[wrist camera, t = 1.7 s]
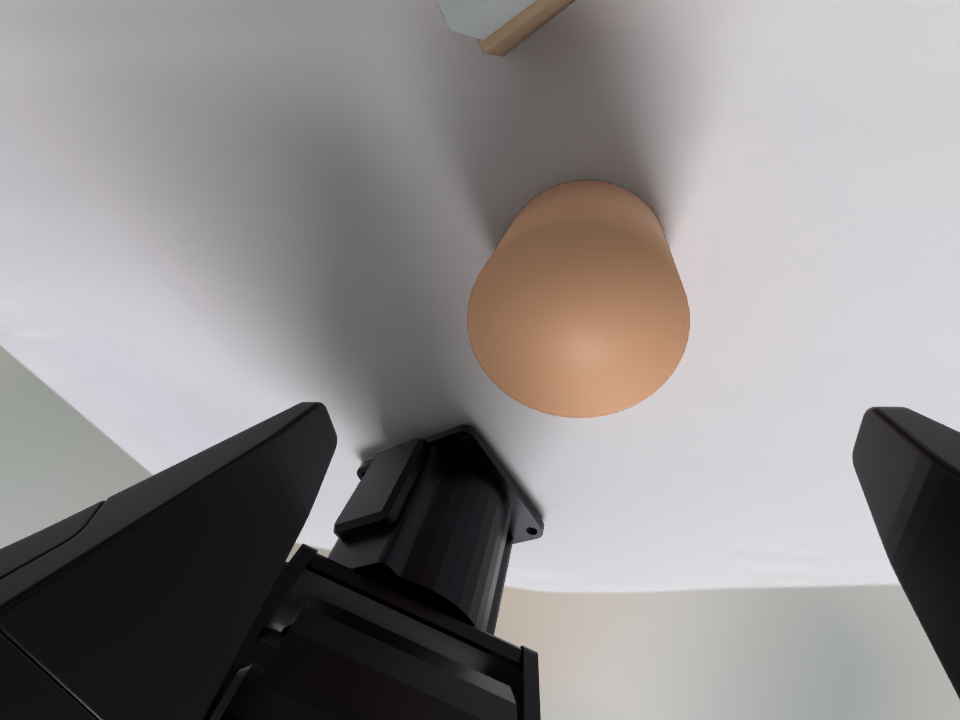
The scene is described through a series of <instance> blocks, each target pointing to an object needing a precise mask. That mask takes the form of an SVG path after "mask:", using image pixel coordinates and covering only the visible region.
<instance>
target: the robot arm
mask: <svg viewBox="0 0 960 720" xmlns="http://www.w3.org/2000/svg"><path fill="white" fill-rule="evenodd" d="M462 436H465V437H468V438H469V439H464V438H463V437H462ZM336 445H337V435H336V432H335V429H334V427H333V424H332V422H331V419H330V416H329V414H328V411H327V409H326V407H325V406H324V404H322V403H320V402H302V403H299V404H297V405H295V406H293V407H291V408H289V409H287V410H285V411H283V412H281V413H279V414H277V415H275V416H273V417H271V418H269V419H267V420H265V421H263V422H261V423H259V424H257V425H255V426H253V427H251V428H249V429H247V430H245V431H243V432H241V433H239V434H236V435H234V436H232V437H230V438H228V439H226V440H224V441H222V442H220V443H218V444H216V445H214V446H212V447H210V448H208V449H206V450H204V451H202V452H200V453H198V454H196V455H194V456H192V457H190V458H188V459H186V460H184V461H182V462H180V463H178V464H176V465H174V466H172V467H170V468H168V469H166V470H164V471H162V472H160V473H157V474H155V475H153V476H151V477H149V478H147V479H145V480H143V481H141V482H139V483H137V484H135V485H133V486H131V487H129V488H127V489H125V490H123V491H121V492H119V493H117V494H115V495H113V496H111V497H109V498H108V499H107V500H106V501H101V502H99V503H97V504H95V505H93V506H91V507H88V508H86V509H84V510H82V511H81V512H78V513H76V514H74V515H72V516H70V517H68V518H66V519H64V520H62V521H60V522H58V523H55V524H54V525H51V526H50V527H47V528H45V529H43V530H41V531H39V532H37V533H34V534H32V535H30V536H28V537H26V538H24V539H21V540H20V541H17V542H15V543H13V544H11V545H8V546H6V547H4V548H2V549H0V720H540V696H539V671H538V653H537V652H535V651H533V650H531V649H529V648H527V647H525V646H521V647H518V646H515V645H513V644H511V643H509V642H507V641H505V640H502V639H500V638H498V637H496V636H494V631H495V627H496V622H497V617H498V612H499V607H500V602H501V597H502V592H503V587H504V583H505V578H506V573H507V568H508V563H509V558H510V553H511V548H512V544H515V543H519V542H524V541H528V540H533V539H537V538H540V537H541V536H542V535H543V529H544V523H543V521H542V520H541V518H540V517H539V516H538V514H537V513H536V512H535V510H534V509H533V507H532V506H531V505H530V503H529V502H528V501H527V499H526V498H525V496H524V495H523V494H522V492H521V491H520V490H519V488H518V487H517V485H516V484H515V483H514V481H513V480H512V479H511V477H510V476H509V475H508V473H507V472H506V470H505V469H504V468H503V466H502V465H501V464H500V462H499V461H498V459H497V458H496V457H495V455H494V454H493V453H492V451H491V450H490V449H489V447H488V446H487V444H486V443H485V442H484V440H483V439H482V438H481V436H480V435H479V433H478V432H477V431H476V430H475V429H474V428H473V427H471V426H468V425H461V426H458V427H455V428H452V429H450V430H447V431H444V432H442V433H439V434H437V435H434V436H431V437H429V438H426V439H424V438H418V439H415V440H412V441H410V442H407V443H405V444H402V445H399V446H397V447H394V448H392V449H389V450H386V451H384V452H381V453H379V454H377V455H376V456H375V458H373V459H370V460H368V461H365V462H363V463H362V464H361V466H360V467H359V469H358V471H357V475H358V477H359V479H360V480H361V481H360V483H359V484H358V486H357V488H356V489H355V491H354V493H353V494H352V496H351V498H350V499H349V501H348V503H347V504H346V506H345V508H344V509H343V511H342V512H341V514H340V516H339V517H338V519H337V521H336V522H335V524H334V533H335V534H336V536H337V537H338V540H337V542H336V544H335V545H334V547H333V549H332V550H331V552H330V554H329V556H328V557H327V558H326V557H324V556H322V555H320V554H318V553H317V551H318V550H316V549H314V548H312V547H310V546H308V545H306V544H302V545H301V547H300V548H299V550H298V551H297V552H296V553H295V555H294V556H293V558H292V559H291V560H290V561H289V562H285V561H286V559H287V557H288V555H289V553H290V551H291V549H292V547H293V545H294V543H295V542H296V540H297V538H298V536H299V534H300V532H301V530H302V528H303V526H304V524H305V522H306V520H307V518H308V516H309V514H310V511H311V509H312V507H313V504H314V502H315V499H316V497H317V494H318V492H319V489H320V487H321V484H322V482H323V479H324V477H325V474H326V472H327V469H328V467H329V464H330V462H331V459H332V457H333V454H334V451H335V449H336ZM853 465H854V468H855V471H856V474H857V476H858V479H859V482H860V484H861V487H862V490H863V492H864V495H865V498H866V500H867V503H868V506H869V509H870V511H871V514H872V517H873V519H874V522H875V525H876V527H877V530H878V533H879V536H880V538H881V541H882V544H883V546H884V549H885V551H886V554H887V556H888V559H889V561H890V563H891V565H892V568H893V570H894V572H895V574H896V576H897V578H898V580H899V582H900V584H901V586H902V588H903V590H904V592H905V593H906V596H907V597H908V600H909V601H910V603H911V605H912V607H913V609H914V611H915V613H916V615H917V617H918V619H919V621H920V623H921V625H922V627H923V629H924V631H925V632H926V634H927V636H928V638H929V640H930V642H931V644H932V646H933V648H934V650H935V652H936V654H937V656H938V658H939V660H940V662H941V664H942V666H943V668H944V670H945V672H946V674H947V675H948V677H949V679H950V681H951V683H952V685H953V687H954V689H955V691H956V693H957V695H958V697H959V699H960V432H958V431H956V430H953V429H951V428H949V427H947V426H945V425H943V424H940V423H938V422H936V421H934V420H932V419H930V418H928V417H925V416H923V415H921V414H919V413H917V412H915V411H912V410H910V409H908V408H905V407H872V408H870V409H868V410H867V411H866V412H865V414H864V416H863V419H862V422H861V426H860V429H859V432H858V435H857V439H856V442H855V445H854V449H853ZM532 527H533V528H532Z"/></svg>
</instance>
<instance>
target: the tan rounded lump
mask: <svg viewBox="0 0 960 720" xmlns="http://www.w3.org/2000/svg"><path fill="white" fill-rule="evenodd" d="M467 327H468V334H469V339H470V342H471V346H472V349H473V351H474V354H475V356H476V358H477V360H478V362H479V364H480V365H481V367H482V369H483V370H484V371H485V373H486V374H487V375H488V377H489V378H490V379H491V380H492V381H493V382H494V383H495V384H496V385H497V386H498V387H499V388H500V389H501V390H502V391H504V392H505V393H506V394H507V395H509V396H510V397H512V398H513V399H515V400H516V401H518V402H520V403H522V404H524V405H526V406H528V407H530V408H532V409H535V410H538V411H540V412H543V413H547V414H551V415H555V416H562V417H571V418H589V417H598V416H604V415H609V414H612V413H616V412H619V411H622V410H624V409H627V408H630V407H632V406H634V405H636V404H637V403H639V402H641V401H643V400H644V399H646V398H647V397H649V396H650V395H652V394H653V393H654V392H655V391H657V390H658V389H659V388H660V387H661V386H662V385H663V384H664V383H665V382H666V381H667V379H668V378H669V377H670V376H671V375H672V373H673V372H674V370H675V369H676V367H677V366H678V364H679V362H680V360H681V358H682V356H683V353H684V351H685V348H686V344H687V341H688V336H689V328H690V312H689V306H688V301H687V296H686V294H685V291H684V288H683V285H682V282H681V280H680V277H679V274H678V271H677V268H676V266H675V263H674V260H673V257H672V254H671V252H670V249H669V246H668V243H667V240H666V237H665V235H664V232H663V229H662V227H661V224H660V222H659V221H658V219H657V217H656V215H655V214H654V213H653V211H652V210H651V209H650V207H649V206H648V205H647V204H646V203H645V202H644V201H642V200H641V199H640V198H639V197H638V196H636V195H635V194H633V193H632V192H630V191H628V190H626V189H624V188H622V187H620V186H617V185H615V184H612V183H608V182H603V181H596V180H580V181H572V182H567V183H563V184H560V185H557V186H555V187H552V188H550V189H548V190H546V191H544V192H542V193H541V194H539V195H538V196H536V197H535V198H533V199H532V200H531V201H530V202H529V203H528V204H527V205H526V206H525V207H524V208H523V209H522V210H521V211H520V212H519V214H518V215H517V216H516V218H515V219H514V221H513V223H512V224H511V226H510V227H509V229H508V230H507V232H506V233H505V235H504V237H503V238H502V240H501V241H500V243H499V244H498V246H497V247H496V249H495V251H494V252H493V254H492V255H491V257H490V258H489V260H488V261H487V263H486V265H485V266H484V268H483V269H482V271H481V272H480V274H479V275H478V277H477V279H476V282H475V284H474V286H473V288H472V292H471V295H470V299H469V304H468V311H467Z"/></svg>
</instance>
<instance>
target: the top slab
mask: <svg viewBox="0 0 960 720" xmlns="http://www.w3.org/2000/svg"><path fill="white" fill-rule="evenodd" d="M535 1H537V0H435V2H436V4H437V6H438V8H439V10H440V12H441V14H442V16H443V18H444V20H445V22H446V24H447V26H448V28H449V30H450V31H451V32H455V33H459V34H463V35H467V36H470V37H474V38H478V39H482V40H484V39H486V38H487V37H488V36H490V35H491V34H492V33H494V32H495V31H496V30H498V29H499V28H500V27H502V26H503V25H504V24H506V23H507V22H508V21H510V20H511V19H512V18H514V17H515V16H516V15H518V14H519V13H520V12H522V11H523V10H525V9H526V8H527V7H529V6H530V5H531V4H533V3H534V2H535Z"/></svg>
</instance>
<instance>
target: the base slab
mask: <svg viewBox="0 0 960 720" xmlns="http://www.w3.org/2000/svg"><path fill="white" fill-rule="evenodd" d="M573 1H575V0H537V1H535V2H534V3H533V4H531V5H530V6H529V7H527V8H526V9H525V10H523V11H522V12H520V13H519V14H518V15H516V16H515V17H514V18H512V19H511V20H510V21H508V22H507V23H506V24H504V25H503V26H502V27H500V28H499V29H498V30H496V31H495V32H494V33H492V34H491V35H490V36H488V37H487V38H486V39H484V40H482V39H478V38H476V39H477V41H478V42H479V44H480V46H481V48H482V50H483V52H484V53H485V54H491V55H498V56H504V55H506V54H507V53H508V52H509V51H511V50H512V49H513V48H515V47H516V46H517V45H518V44H520V43H521V42H522V41H524V40H525V39H526V38H527V37H529V36H530V35H531V34H532V33H534V32H535V31H536V30H538V29H539V28H540V27H541V26H543V25H544V24H545V23H547V22H548V21H549V20H550V19H552V18H553V17H554V16H556V15H557V14H558V13H559V12H561V11H562V10H563V9H564V8H566V7H567V6H568V5H570V4H571V3H572V2H573Z"/></svg>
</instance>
